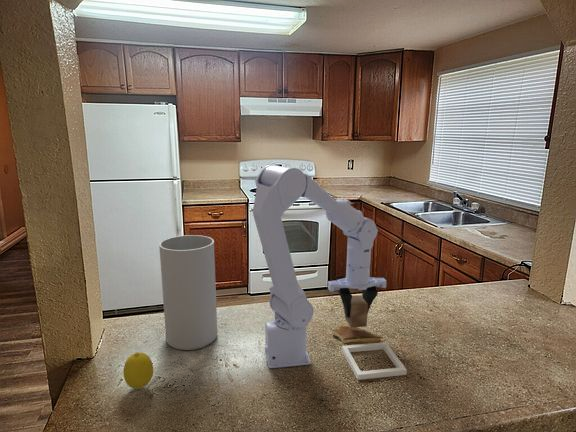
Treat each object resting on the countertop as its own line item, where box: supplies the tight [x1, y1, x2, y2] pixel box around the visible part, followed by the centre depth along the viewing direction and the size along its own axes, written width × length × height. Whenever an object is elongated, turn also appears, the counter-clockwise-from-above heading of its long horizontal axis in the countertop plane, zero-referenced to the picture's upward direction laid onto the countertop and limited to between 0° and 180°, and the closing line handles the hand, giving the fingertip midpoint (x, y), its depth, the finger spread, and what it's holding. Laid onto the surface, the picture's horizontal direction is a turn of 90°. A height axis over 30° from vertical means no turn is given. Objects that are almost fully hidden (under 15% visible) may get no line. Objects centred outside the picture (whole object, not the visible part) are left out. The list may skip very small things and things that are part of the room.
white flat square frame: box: [341, 341, 408, 381], centre depth 86 cm, size 11×11×1 cm
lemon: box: [122, 351, 154, 390], centre depth 77 cm, size 6×6×8 cm
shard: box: [331, 323, 383, 344], centre depth 96 cm, size 11×8×2 cm
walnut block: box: [344, 295, 369, 328], centre depth 97 cm, size 4×5×6 cm
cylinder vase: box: [158, 234, 218, 351], centre depth 93 cm, size 12×12×25 cm
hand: (355, 314), depth 97 cm, fingers closed on walnut block, 4 cm apart
